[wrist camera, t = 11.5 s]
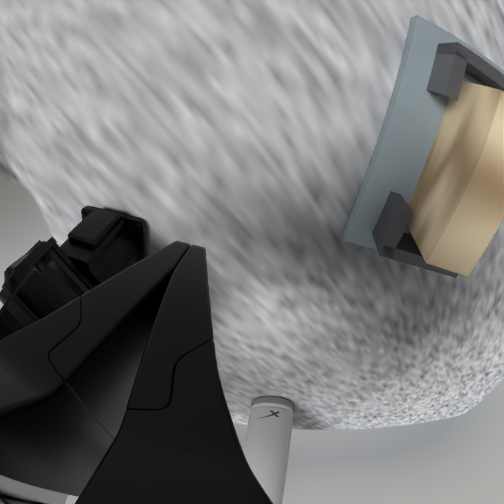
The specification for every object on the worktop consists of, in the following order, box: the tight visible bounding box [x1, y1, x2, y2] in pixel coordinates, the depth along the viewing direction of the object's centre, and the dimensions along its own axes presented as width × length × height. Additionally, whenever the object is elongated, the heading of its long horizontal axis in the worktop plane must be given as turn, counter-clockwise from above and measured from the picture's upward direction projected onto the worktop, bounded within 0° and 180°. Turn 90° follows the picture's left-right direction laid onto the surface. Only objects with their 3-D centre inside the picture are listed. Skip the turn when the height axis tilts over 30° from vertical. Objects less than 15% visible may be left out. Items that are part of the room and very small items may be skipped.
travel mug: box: [243, 396, 294, 504], centre depth 30 cm, size 6×7×20 cm
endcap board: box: [343, 15, 504, 278], centre depth 13 cm, size 16×10×4 cm, turn 170°
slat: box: [407, 81, 504, 277], centre depth 12 cm, size 10×4×5 cm, turn 169°
